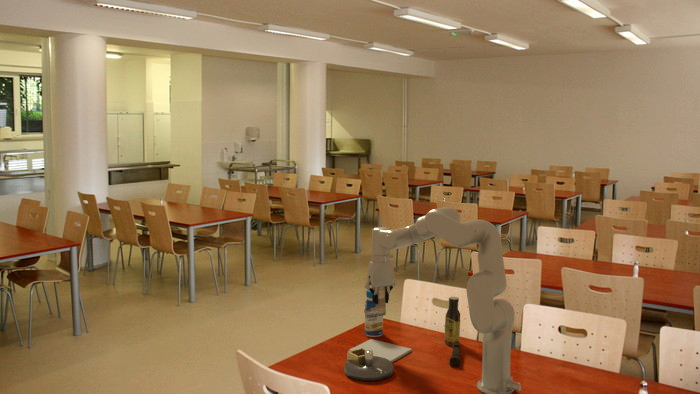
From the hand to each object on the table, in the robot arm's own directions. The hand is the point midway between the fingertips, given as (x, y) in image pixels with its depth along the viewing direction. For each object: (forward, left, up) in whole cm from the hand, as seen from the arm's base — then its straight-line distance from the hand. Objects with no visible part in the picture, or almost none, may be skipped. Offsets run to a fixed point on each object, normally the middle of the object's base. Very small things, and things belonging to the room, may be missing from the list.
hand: (380, 302), depth 249 cm
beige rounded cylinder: (0, 0, -5) cm, 5 cm away
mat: (0, 0, -20) cm, 20 cm away
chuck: (-8, +20, -20) cm, 30 cm away
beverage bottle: (+14, -16, -21) cm, 30 cm away
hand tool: (-27, -12, -21) cm, 36 cm away
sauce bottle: (-19, -26, -21) cm, 38 cm away
